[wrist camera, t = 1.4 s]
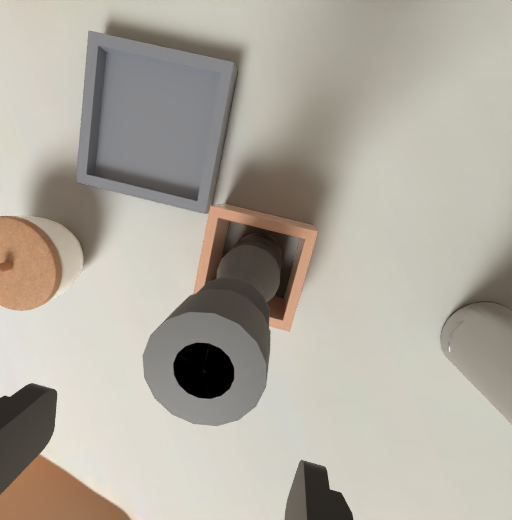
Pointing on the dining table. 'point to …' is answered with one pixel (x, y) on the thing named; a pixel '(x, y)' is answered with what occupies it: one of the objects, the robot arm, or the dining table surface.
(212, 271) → the square copper bin
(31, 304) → the lidded jar
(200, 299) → the candle holder
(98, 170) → the tray
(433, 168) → the dining table surface
